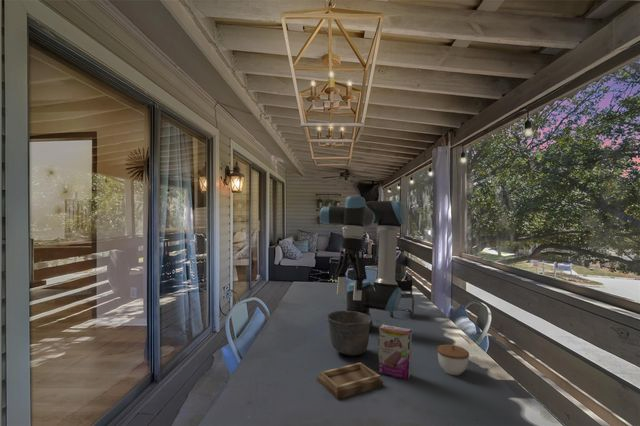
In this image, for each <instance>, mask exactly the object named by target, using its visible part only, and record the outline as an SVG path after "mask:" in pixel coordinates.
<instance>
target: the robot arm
mask: <svg viewBox="0 0 640 426" xmlns="http://www.w3.org/2000/svg"><path fill="white" fill-rule="evenodd" d="M405 214H406V212H405V207H404V205H403V203H402V202H401V201H398V200H370V201H366V198H365V197H363V196H358V195H349V196H347V197H345V202H344V205H339V206H338V205H337V206H330V205H329V206H322V207H321V209H320V211H319V220H320V223H321V224H323V225H338V226H339V225H341V226H342V225H343V227H342V237H343V238H342V239H341V240H342V242H341V248H342V249H344V250H340V255H339V259H338V263H337V267H336V270H335V275H336V276H337V287H336V295H340V296H344V295H345V289H346V310H345V311H346V312H347V311H356V312H360V313H363V314H366V315H368V316H370V317H371V318H372V316H371V314H370V309H372V310H379V311H384V312H390V311H391V312H392V313H394V312H396V311H398V310H397V308H399V306H400V302H401V299H402V298H401V294H402V291H401V289H400V288H399V287H398V283H397V282H396V281H395V280H396V275H395V274H396V264H397V248H398V247H397V246H398V233H399V230H401V229H402V225H404V224H405V223H406V222H405V221H406V215H405ZM374 224H376V225H377V228H378V230H379V246H378V257H377V258H378V262H377V263H378V264H377V274H376V275H377V277H376V279H375V280H374V281H373V284H371V282H370V280H367V278H368V277H367V272H366V266H365V261H364V260H365V259H364V251H360V250H363V244H364V243H363V242H364V241H363V238H364V229H365V227H370V226H372V225H374ZM350 265H351V267H352V270H353V273H354V279H353V281H350V282H348V283H347V285H346V273H347V271H348V269H349V267H350ZM345 287H346V288H345ZM373 325H374V323H373V319H372V320H371V323H370V329H369V332H370V331H372V330H373V329H374V328H373Z"/></svg>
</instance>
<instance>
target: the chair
mask: <svg viewBox="0 0 640 426" xmlns="http://www.w3.org/2000/svg"><path fill="white" fill-rule="evenodd" d="M395 276H402V277H410V278H409V279H410V280H397V279H395V281H396V282H397V283H398V287H399V288H400V289H401V292H409V293H401V299H411V302H412V303H411V309H409V308H401V307H400V308H399V307H398V308H397V310H396V311H405V312H409V313H410V317H411V319H414V316H415V298H414V295H413V275H412V274H406V273H395ZM389 316H390V317H393V312H391V311H389Z"/></svg>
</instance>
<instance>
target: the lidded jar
mask: <svg viewBox="0 0 640 426" xmlns="http://www.w3.org/2000/svg"><path fill="white" fill-rule="evenodd" d="M469 357H470V352H469V351H468V350H467V349H466V348H464V347H462V346H458V345H455V344H441V345H440V344H439V346H438V347H437V360H438V363H439V366H440V367H441V369H442V370H443V371H444V372H445V373H446V374H448V375H452V376H461V374H462V373H463V372H465V371H466V369H467V368H468V364H469Z"/></svg>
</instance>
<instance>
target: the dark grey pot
mask: <svg viewBox="0 0 640 426" xmlns="http://www.w3.org/2000/svg"><path fill="white" fill-rule="evenodd" d="M326 316H327V321H328V327H329V334H330V335H329V336H330V342H331V345H332V347H333V348H334V349H335V350H336V351H337V352H339V353H341V354H342V355H346V356H351V357H352V356H353V357H355V356H360V355H361V354H364V353H365V352H366V350H367V349H368V346H369V342H370V341H369V340H370V339H369V338H370V331H369V329H370V323H371V320H372V321H373V319H372V316H371V315H370V316H371V317H370V316H368V315H366V314H363V313H360V312H356V311H347V312H346V310H336V311H333V312H329V313H328V314H327V315H326Z"/></svg>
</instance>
